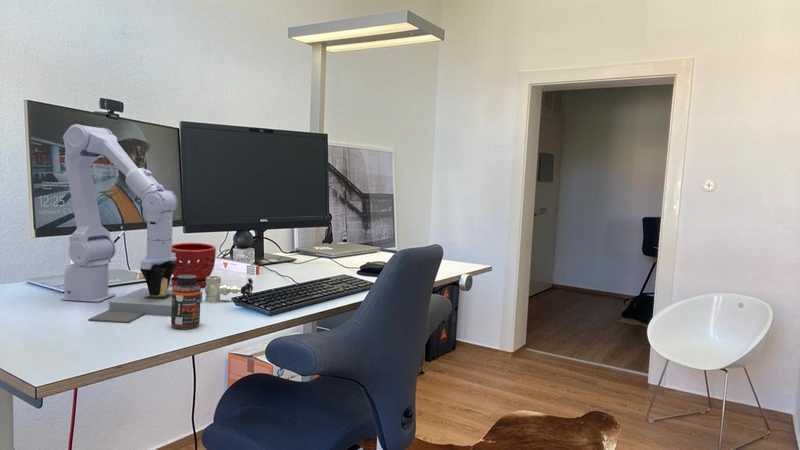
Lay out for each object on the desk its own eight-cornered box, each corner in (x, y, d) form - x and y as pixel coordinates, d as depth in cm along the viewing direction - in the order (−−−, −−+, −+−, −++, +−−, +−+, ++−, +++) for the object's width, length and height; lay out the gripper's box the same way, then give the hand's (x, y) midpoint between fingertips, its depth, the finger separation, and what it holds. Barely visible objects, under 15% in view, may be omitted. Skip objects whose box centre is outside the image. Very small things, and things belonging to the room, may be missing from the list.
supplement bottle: (182, 331, 114) (183, 279, 113) (165, 326, 117) (166, 275, 116) (205, 325, 119) (206, 276, 118) (188, 320, 122) (189, 272, 121)
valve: (201, 304, 138) (249, 305, 140) (202, 279, 137) (249, 280, 139) (207, 298, 144) (252, 299, 146) (208, 274, 144) (253, 276, 146)
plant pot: (158, 284, 157) (159, 244, 156) (196, 279, 168) (197, 241, 167) (186, 292, 150) (187, 250, 149) (224, 285, 161) (225, 246, 160)
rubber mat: (88, 320, 118) (88, 319, 118) (110, 310, 127) (110, 309, 127) (128, 323, 118) (128, 321, 118) (147, 312, 127) (148, 311, 127)
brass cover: (146, 307, 131) (147, 278, 130) (154, 304, 135) (154, 275, 134) (162, 308, 131) (163, 279, 130) (169, 304, 135) (170, 276, 134)
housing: (109, 312, 125) (109, 302, 125) (142, 297, 141) (142, 288, 141) (176, 316, 125) (176, 306, 125) (202, 300, 141) (202, 291, 141)
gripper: (162, 243, 124) (161, 300, 125) (187, 236, 139) (186, 287, 140) (132, 242, 124) (131, 298, 125) (160, 235, 139) (159, 286, 140)
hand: (158, 292), depth 133 cm, fingers closed on brass cover, 4 cm apart
